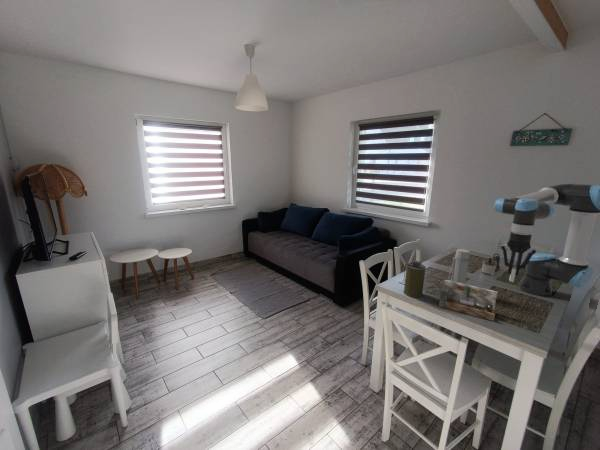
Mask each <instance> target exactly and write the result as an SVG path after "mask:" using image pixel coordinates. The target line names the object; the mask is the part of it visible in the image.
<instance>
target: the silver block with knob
mask: <svg viewBox="0 0 600 450" xmlns="http://www.w3.org/2000/svg"><path fill="white" fill-rule="evenodd" d="M469 291H470V288H468V294H467V297H466V296H462V295H461V299H460V305H464V306H467V307H471V308H473V306H477V307H481V308H485V309H487V311H488V312H492V308H493V305H489V304H488V306H484V305H481V304H477V303H474V298H471V297H469Z"/></svg>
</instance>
